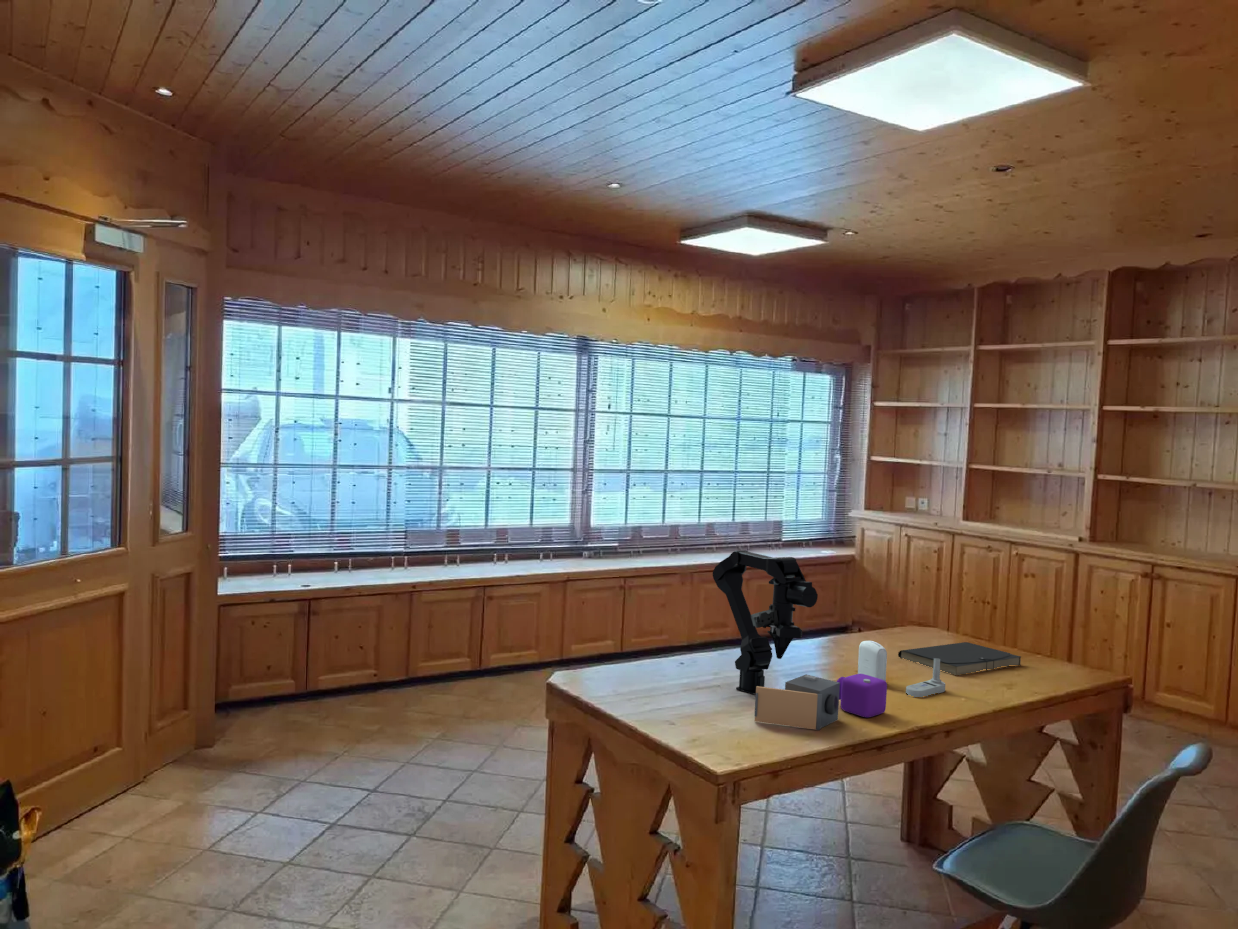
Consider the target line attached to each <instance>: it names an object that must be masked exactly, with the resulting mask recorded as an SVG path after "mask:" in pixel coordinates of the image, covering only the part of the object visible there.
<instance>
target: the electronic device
mask: <svg viewBox="0 0 1238 929" xmlns="http://www.w3.org/2000/svg"><path fill="white" fill-rule="evenodd" d="M940 678H941V671H940V659H938V658H934V668H933V669H932V678H930V679H929V680H925V681H921V682H917V683H913V684H909V685H906V687H905V694H906V693H907V694H908V695H911V696H914V697H913V698H915V697H923V696H927V697H929V696H928V695H931V694H934V695H936V694H935V693H938V694H940V693H941V694H942V693H944V692H946V683H945V682H944V681H942V679H940ZM908 695H907V696H908ZM911 696H910V697H911ZM931 696H932V695H931ZM923 698H924V697H923Z"/></svg>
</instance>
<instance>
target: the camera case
mask: <svg viewBox="0 0 1238 929" xmlns="http://www.w3.org/2000/svg"><path fill="white" fill-rule="evenodd" d="M784 683H785V686H784V690H791V691H799V692H807V693H815V694H822V703H821V721H820V729H822V728H824V727H826V726H828V725H830V724H832V723H834V722H836V721H838V720H839V707H840V701H839V691H840V683H839V682H837V681H834V680H831V679H826V678H824V677H823V678H822V677H819V676H814V675H810V674H804V675H801V676H798V677H795V678H793V679H790V680H788V681H785V682H784Z"/></svg>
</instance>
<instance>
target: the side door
mask: <svg viewBox="0 0 1238 929" xmlns="http://www.w3.org/2000/svg"><path fill="white" fill-rule="evenodd" d="M754 700H755V701H754V722H759V723H763V724H764V723H765V724H771V725H778V726H779V725H780V726H788V727H794V728H801V729H808V730H815V731H820V730H821V728H820V721H821V703H822V694H815V693H807V692H799V691H791V690H785V689H782V688H775V687H774V688H773V687H765V686H764V687H759V686H756V694H755V699H754Z"/></svg>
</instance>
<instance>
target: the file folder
mask: <svg viewBox="0 0 1238 929" xmlns="http://www.w3.org/2000/svg"><path fill="white" fill-rule="evenodd" d="M897 653H898V654H897V655H898V658H899V657H901V658H900V659H902V658H904V659H907V660H910V661H909V662H911V661H913V662H912V663H914V662H919V663H920V664H923V665H926V666H929V667H932V668H934V658H938V659H940V670H942V671H945V672H948V673H951V674H954V675H959V676H961V675H960V674H966V673H971V672H976V671H980V670H983V669H986V670H987V669H994V668H997V667H1001V666H1009V665H1020V666H1021V658H1022V656H1020V655H1015V654H1012V653H1010V652H1006V651H1004V650H1003V651H1002V650H999V649H994V648H991V647H988V646H987V647H986V646H984V645H981V644H975V643H973V642H972V643H971V642H967V641H963V642H955V643H950V644H949V643H948V644H940V645H933V646H926V647H918V648H909V649H902V650H901V649H900V650H899V651H898V652H897ZM904 659H903V660H904ZM907 660H906V661H907ZM920 664H919V665H920ZM923 665H922V666H923ZM926 666H925V667H926ZM929 667H928V668H929ZM932 668H931V669H932ZM942 671H941V672H942ZM945 672H944V673H945ZM948 673H947V674H948ZM951 674H950V675H951ZM954 675H953V676H954ZM966 675H967V674H966Z"/></svg>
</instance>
